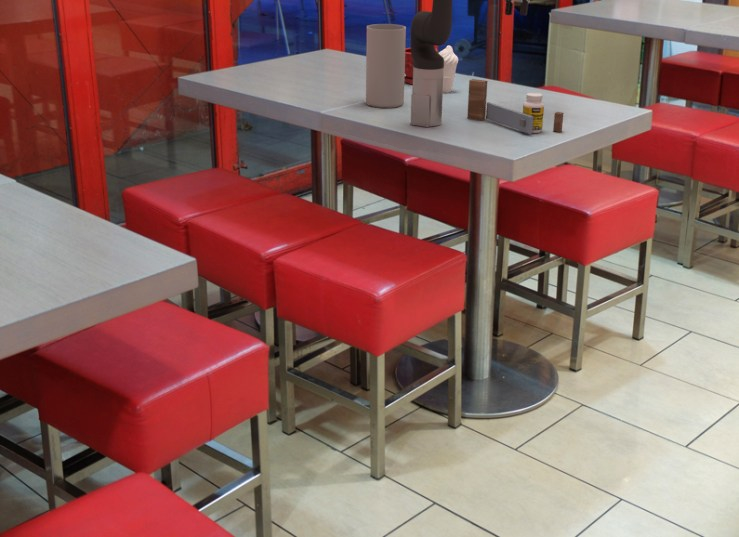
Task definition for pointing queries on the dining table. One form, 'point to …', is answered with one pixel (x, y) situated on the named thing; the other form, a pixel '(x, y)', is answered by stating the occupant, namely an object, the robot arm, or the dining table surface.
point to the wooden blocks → (479, 104)
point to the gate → (509, 118)
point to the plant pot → (409, 66)
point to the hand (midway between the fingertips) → (515, 15)
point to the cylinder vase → (385, 65)
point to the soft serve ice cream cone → (448, 68)
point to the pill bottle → (534, 110)
